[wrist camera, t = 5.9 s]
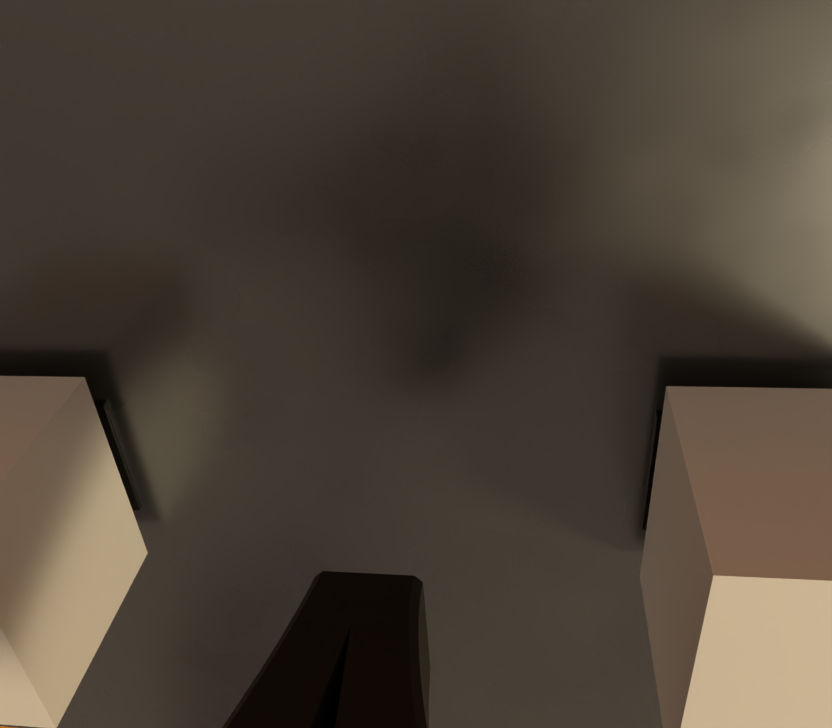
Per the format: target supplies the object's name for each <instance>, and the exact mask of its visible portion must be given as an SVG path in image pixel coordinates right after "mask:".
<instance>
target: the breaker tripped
mask: <svg viewBox="0 0 832 728" xmlns="http://www.w3.org/2000/svg"><path fill="white" fill-rule="evenodd" d="M147 553H148V552H147V549H146V547H145V544H144V541H143V538H142V535H141V533H140V530H139V527H138V524H137V521H136V519H135V516H134V513H133V510H132V508H131V505H130V502H129V499H128V496H127V494H126V491H125V488H124V485H123V483H122V480H121V477H120V474H119V471H118V469H117V466H116V463H115V460H114V457H113V455H112V452H111V449H110V446H109V444H108V441H107V438H106V435H105V432H104V430H103V427H102V424H101V421H100V419H99V416H98V413H97V410H96V407H95V405H94V402H93V399H92V396H91V394H90V391H89V388H88V385H87V382H86V380H85V377H46V376H0V724H2V725H15V726H28V727H41V728H57V726H58V724H59V722H60V721H61V719H62V717H63V715H64V713H65V711H66V709H67V707H68V705H69V703H70V701H71V699H72V698H73V696H74V694H75V692H76V690H77V688H78V686H79V684H80V682H81V680H82V678H83V676H84V674H85V673H86V671H87V669H88V667H89V665H90V663H91V661H92V659H93V657H94V655H95V653H96V651H97V649H98V648H99V646H100V644H101V642H102V640H103V638H104V636H105V634H106V632H107V630H108V628H109V626H110V625H111V623H112V621H113V619H114V617H115V615H116V613H117V611H118V609H119V607H120V605H121V603H122V601H123V600H124V598H125V596H126V594H127V592H128V590H129V588H130V586H131V584H132V582H133V580H134V578H135V577H136V575H137V573H138V571H139V569H140V567H141V565H142V563H143V561H144V559H145V557H146V555H147Z"/></svg>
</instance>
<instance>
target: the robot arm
mask: <svg viewBox="0 0 832 728" xmlns="http://www.w3.org/2000/svg"><path fill="white" fill-rule="evenodd" d="M429 686H430V657H429V646H428V634H427V623H426V611H425V599H424V588H423V582H422V581H421V580H419V579H418V578H417V577H415V576H414V575H394V574H373V573H353V572H333V571H322V572H320V573H319V574H318V575H317V576H315V578H314V580H313V582H312V583H311V585H310V587H309V589H308V591H307V593H306V595H305V596H304V598H303V600H302V602H301V604H300V605H299V607H298V609H297V611H296V612H295V614H294V616H293V618H292V619H291V621H290V623H289V624H288V626H287V628H286V629H285V631H284V633H283V635H282V636H281V638H280V639H279V641H278V643H277V644H276V646H275V648H274V649H273V651H272V652H271V654H270V656H269V657H268V659H267V660H266V662H265V664H264V665H263V667H262V668H261V670H260V671H259V673H258V674H257V676H256V677H255V679H254V680H253V682H252V683H251V685H250V686H249V688H248V689H247V691H246V692H245V694H244V695H243V697H242V698H241V700H240V701H239V703H238V705H237V706H236V708H235V709H234V711H233V712H232V714H231V715H230V717H229V718H228V720H227V721H226V722H225V724H224V725H223V727H222V728H429Z"/></svg>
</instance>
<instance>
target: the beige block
mask: <svg viewBox="0 0 832 728" xmlns="http://www.w3.org/2000/svg"><path fill="white" fill-rule="evenodd" d="M640 580H641V586H642V593H643V600H644V606H645V613H646V619H647V626H648V633H649V639H650V646H651V653H652V659H653V666H654V672H655V679H656V686H657V692H658V699H659V705H660V712H661V719H662V725H663V728H832V389H815V388H751V387H687V386H666V391H665V398H664V406H663V413H662V420H661V427H660V434H659V441H658V449H657V456H656V463H655V470H654V477H653V485H652V492H651V499H650V506H649V513H648V520H647V528H646V535H645V542H644V549H643V556H642V564H641V571H640Z"/></svg>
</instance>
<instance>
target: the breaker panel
mask: <svg viewBox="0 0 832 728" xmlns="http://www.w3.org/2000/svg"><path fill="white" fill-rule="evenodd" d="M0 376H46V377H85V380H86V382H87V385H88V388H89V391H90V394H91V396H92V399H93V402H94V405H95V407H96V410H97V413H98V416H99V419H100V421H101V424H102V427H103V430H104V432H105V435H106V438H107V441H108V444H109V446H110V449H111V452H112V455H113V457H114V460H115V463H116V466H117V469H118V471H119V474H120V477H121V480H122V483H123V485H124V488H125V491H126V494H127V496H128V499H129V502H130V505H131V508H132V510H133V513H134V516H135V519H136V521H137V524H138V527H139V530H140V533H141V535H142V538H143V541H144V544H145V547H146V549H147V552H148V553H147V555H146V557H145V559H144V561H143V563H142V565H141V567H140V569H139V571H138V573H137V575H136V577H135V578H134V580H133V582H132V584H131V586H130V588H129V590H128V592H127V594H126V596H125V598H124V600H123V601H122V603H121V605H120V607H119V609H118V611H117V613H116V615H115V617H114V619H113V621H112V623H111V625H110V626H109V628H108V630H107V632H106V634H105V636H104V638H103V640H102V642H101V644H100V646H99V648H98V649H97V651H96V653H95V655H94V657H93V659H92V661H91V663H90V665H89V667H88V669H87V671H86V673H85V674H84V676H83V678H82V680H81V682H80V684H79V686H78V688H77V690H76V692H75V694H74V696H73V698H72V699H71V701H70V703H69V705H68V707H67V709H66V711H65V713H64V715H63V717H62V719H61V721H60V722H59V724H58V726H57V728H222V727H223V725H224V724H225V722H226V721H227V720H228V718H229V717H230V715H231V714H232V712H233V711H234V709H235V708H236V706H237V705H238V703H239V701H240V700H241V698H242V697H243V695H244V694H245V692H246V691H247V689H248V688H249V686H250V685H251V683H252V682H253V680H254V679H255V677H256V676H257V674H258V673H259V671H260V670H261V668H262V667H263V665H264V664H265V662H266V660H267V659H268V657H269V656H270V654H271V652H272V651H273V649H274V648H275V646H276V644H277V643H278V641H279V639H280V638H281V636H282V635H283V633H284V631H285V629H286V628H287V626H288V624H289V623H290V621H291V619H292V618H293V616H294V614H295V612H296V611H297V609H298V607H299V605H300V604H301V602H302V600H303V598H304V596H305V595H306V593H307V591H308V589H309V587H310V585H311V583H312V582H313V580H314V578H315V576H317V575H318V574H319V573H320V572H322V571H333V572H353V573H373V574H394V575H414V576H415V577H417V578H418V579H419V580H421V581H422V582H423V588H424V599H425V611H426V623H427V634H428V646H429V657H430V686H429V728H663V725H662V719H661V712H660V705H659V699H658V692H657V686H656V679H655V672H654V666H653V659H652V653H651V646H650V639H649V633H648V626H647V619H646V613H645V606H644V600H643V593H642V586H641V580H640V571H641V564H642V556H643V549H644V542H645V535H646V528H647V520H648V513H649V506H650V499H651V492H652V485H653V477H654V470H655V463H656V456H657V449H658V441H659V434H660V427H661V420H662V413H663V406H664V398H665V391H666V386H687V387H751V388H815V389H832V0H0ZM0 726H7V727H20V728H41V727H28V726H15V725H2V724H0Z"/></svg>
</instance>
